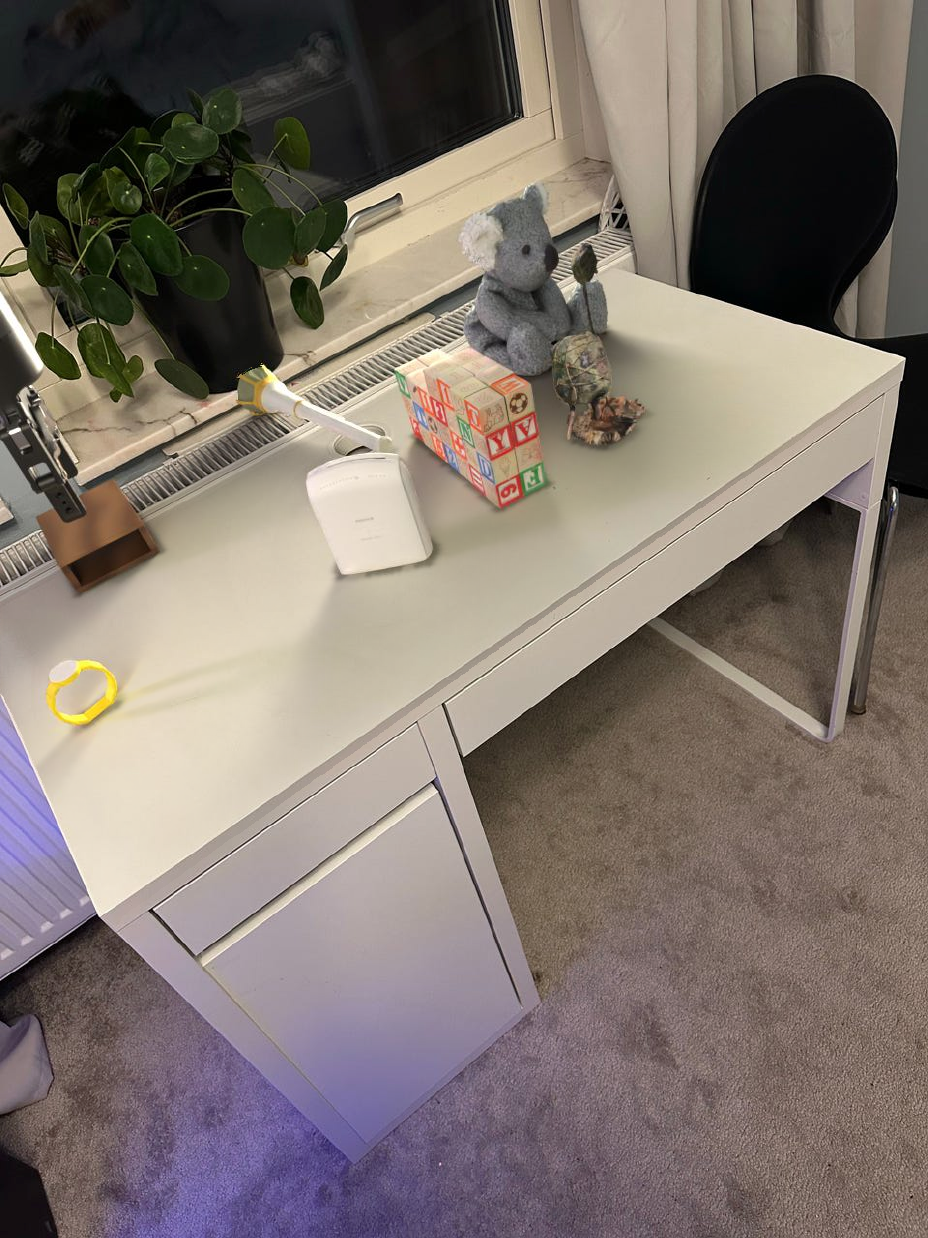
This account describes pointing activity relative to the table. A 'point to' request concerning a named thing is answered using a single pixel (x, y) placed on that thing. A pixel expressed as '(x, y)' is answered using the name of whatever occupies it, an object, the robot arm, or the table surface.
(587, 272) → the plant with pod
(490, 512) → the table surface
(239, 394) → the light stick
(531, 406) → the stack of blocks
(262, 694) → the table surface
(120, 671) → the table surface
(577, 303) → the koala plush
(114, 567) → the shelf
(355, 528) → the photo printer
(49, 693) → the watch
